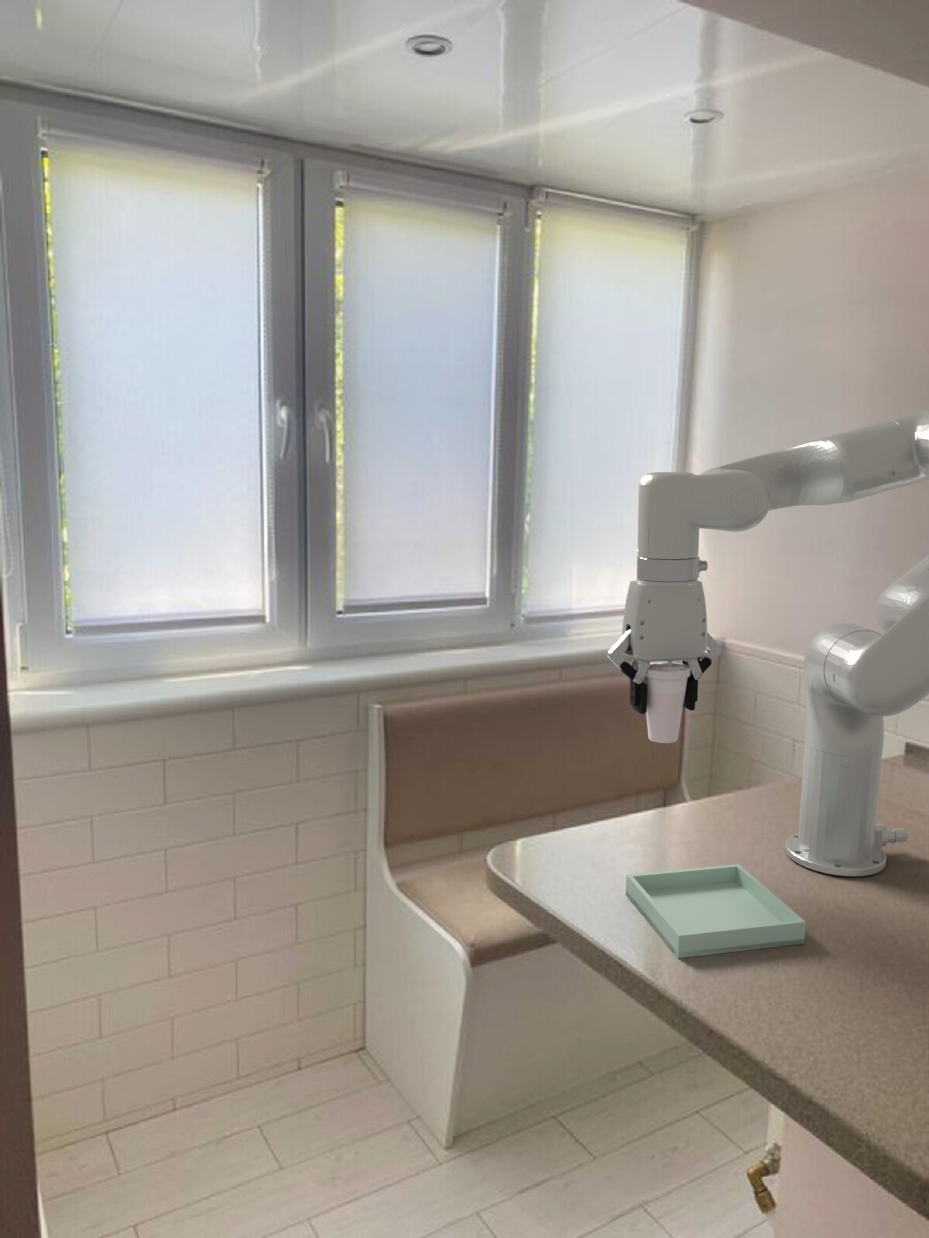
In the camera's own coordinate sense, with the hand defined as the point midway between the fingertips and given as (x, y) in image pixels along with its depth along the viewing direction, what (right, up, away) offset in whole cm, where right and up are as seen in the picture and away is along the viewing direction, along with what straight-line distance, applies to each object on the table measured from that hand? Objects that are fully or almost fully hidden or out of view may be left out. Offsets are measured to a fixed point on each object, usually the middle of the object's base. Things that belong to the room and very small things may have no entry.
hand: (663, 708), depth 121 cm
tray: (+3, -23, -12) cm, 26 cm away
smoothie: (0, -4, +1) cm, 4 cm away
